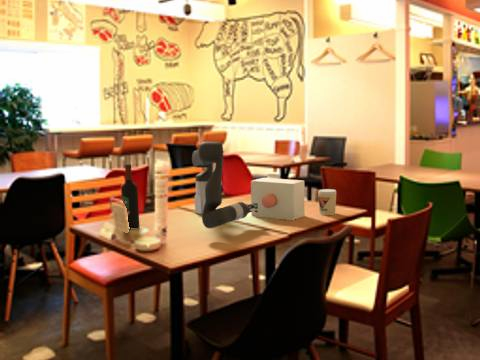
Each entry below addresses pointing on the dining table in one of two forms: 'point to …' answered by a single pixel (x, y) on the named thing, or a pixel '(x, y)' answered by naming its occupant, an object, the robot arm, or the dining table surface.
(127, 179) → the wine bottle
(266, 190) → the console
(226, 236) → the dining table surface
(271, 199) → the knob
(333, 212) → the coffee cup
